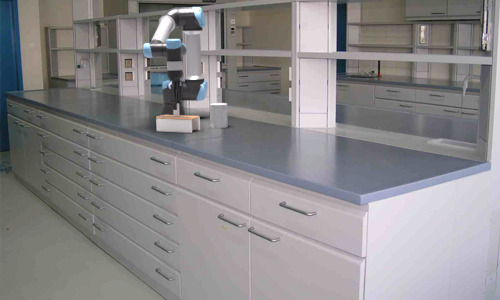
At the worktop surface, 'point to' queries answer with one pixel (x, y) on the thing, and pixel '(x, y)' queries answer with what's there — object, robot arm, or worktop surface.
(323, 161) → the worktop surface
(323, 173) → the worktop surface
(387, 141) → the worktop surface
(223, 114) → the grey concrete cylinder
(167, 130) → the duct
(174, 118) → the duct cover
